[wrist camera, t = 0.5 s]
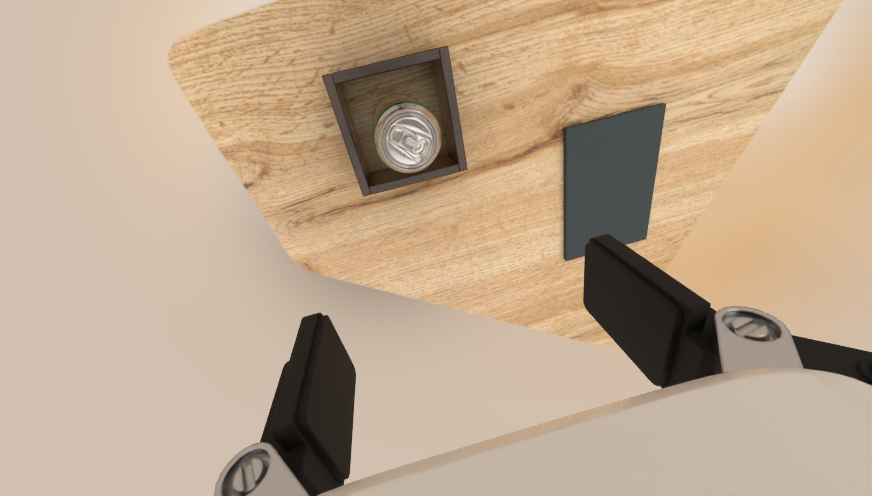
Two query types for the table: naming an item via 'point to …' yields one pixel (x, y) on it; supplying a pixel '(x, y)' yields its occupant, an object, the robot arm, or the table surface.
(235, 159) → the table surface
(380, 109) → the soda can
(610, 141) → the mat
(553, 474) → the robot arm
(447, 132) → the frame
